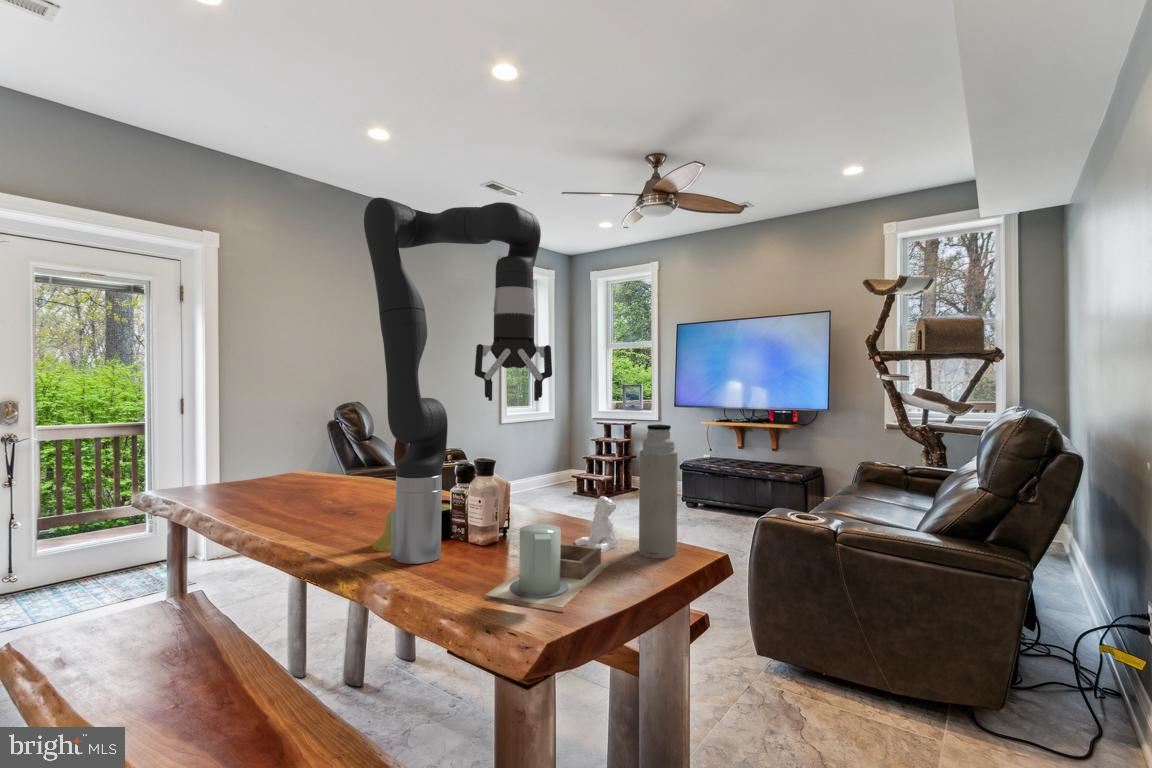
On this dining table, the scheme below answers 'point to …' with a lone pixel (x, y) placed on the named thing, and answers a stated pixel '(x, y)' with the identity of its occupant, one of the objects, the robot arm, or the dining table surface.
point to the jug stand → (574, 576)
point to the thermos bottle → (658, 494)
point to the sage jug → (539, 559)
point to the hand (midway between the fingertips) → (513, 400)
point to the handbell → (385, 539)
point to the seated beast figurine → (601, 527)
